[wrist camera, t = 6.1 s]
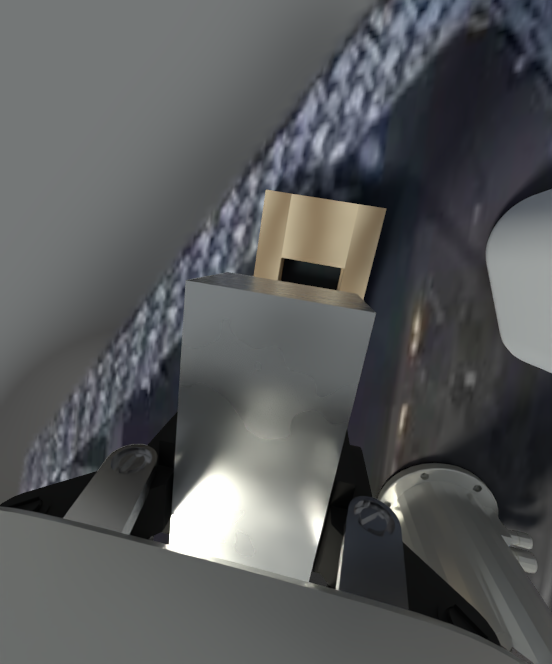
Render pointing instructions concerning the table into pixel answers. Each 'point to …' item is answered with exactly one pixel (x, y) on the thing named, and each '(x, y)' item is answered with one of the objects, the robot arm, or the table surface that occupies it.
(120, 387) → the table surface
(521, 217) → the plastic bottle
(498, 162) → the table surface
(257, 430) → the brushed steel block
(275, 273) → the birch rail
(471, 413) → the table surface
